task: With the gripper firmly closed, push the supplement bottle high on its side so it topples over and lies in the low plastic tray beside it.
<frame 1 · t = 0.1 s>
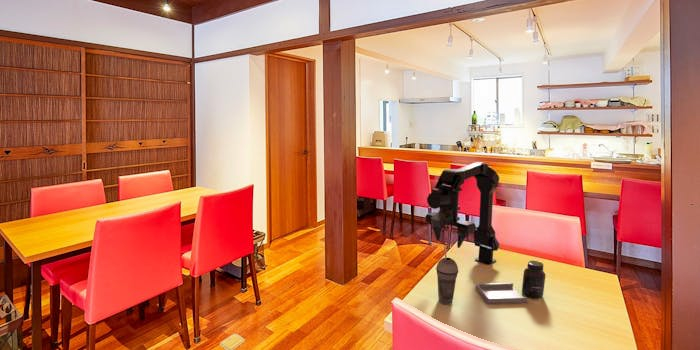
hand: (448, 244, 133), 15 cm above the table, tool pointing down, fingers open, 9 cm apart
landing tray: (500, 295, 124), on the table
supplement bottle: (532, 295, 125), on the table
beverage cup: (445, 301, 121), on the table
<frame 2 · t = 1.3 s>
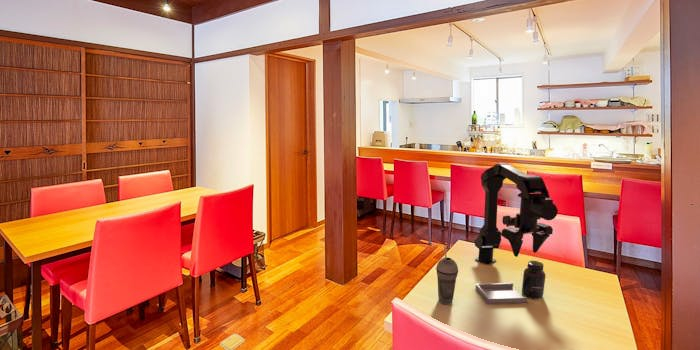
hand: (525, 254, 126), 14 cm above the table, tool pointing down, fingers open, 9 cm apart
nothing on the table moved.
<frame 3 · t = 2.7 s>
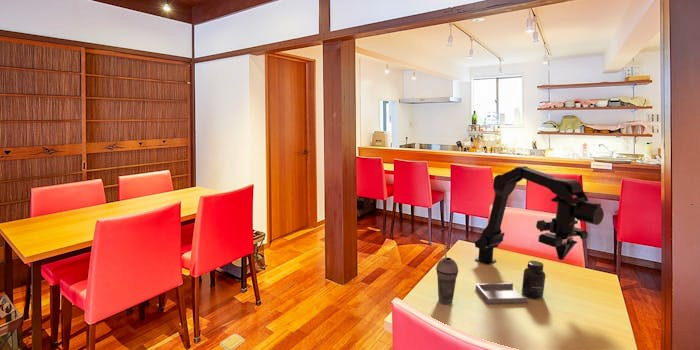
hand: (560, 259, 123), 13 cm above the table, tool pointing down, fingers closed
nothing on the table moved.
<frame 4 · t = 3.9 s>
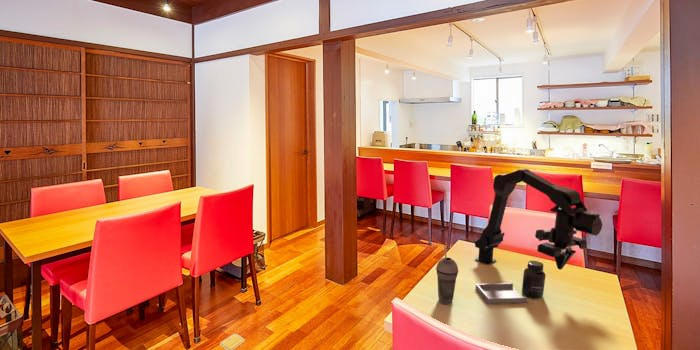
hand: (559, 269, 124), 10 cm above the table, tool pointing down, fingers closed
nothing on the table moved.
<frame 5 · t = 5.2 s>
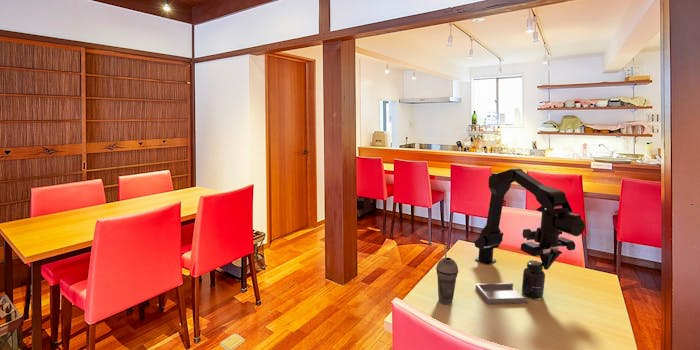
hand: (545, 269, 123), 10 cm above the table, tool pointing down, fingers closed
supplement bottle: (532, 295, 125), on the table, touching gripper
everything else where it was.
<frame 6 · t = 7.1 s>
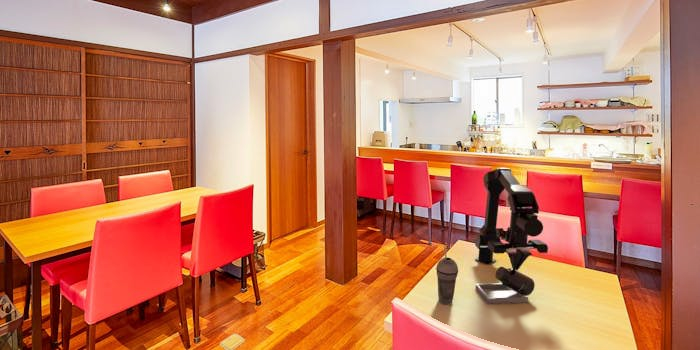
hand: (515, 269, 123), 10 cm above the table, tool pointing down, fingers closed
supplement bottle: (528, 287, 124), point 3 cm above the table, touching gripper
everything else where it was.
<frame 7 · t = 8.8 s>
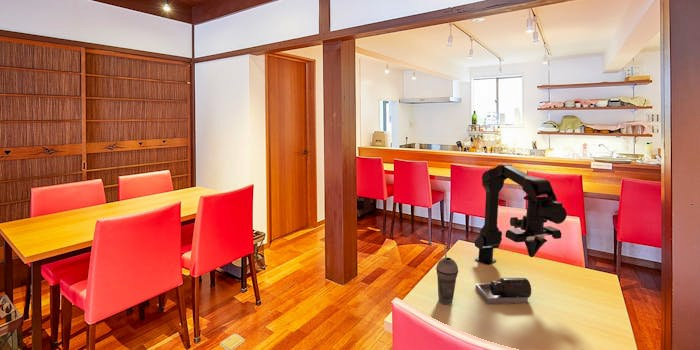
hand: (531, 256, 126), 13 cm above the table, tool pointing down, fingers closed
supplement bottle: (527, 287, 122), point 4 cm above the table, touching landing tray
everything else where it was.
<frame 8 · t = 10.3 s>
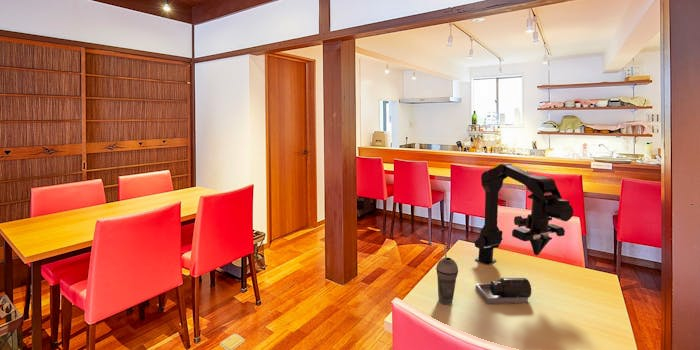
hand: (536, 254, 127), 13 cm above the table, tool pointing down, fingers closed
nothing on the table moved.
at the end: supplement bottle tilted 91°; supplement bottle touching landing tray; supplement bottle inside the target area (6.1 cm from its centre), point 3.8 cm above the table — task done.
